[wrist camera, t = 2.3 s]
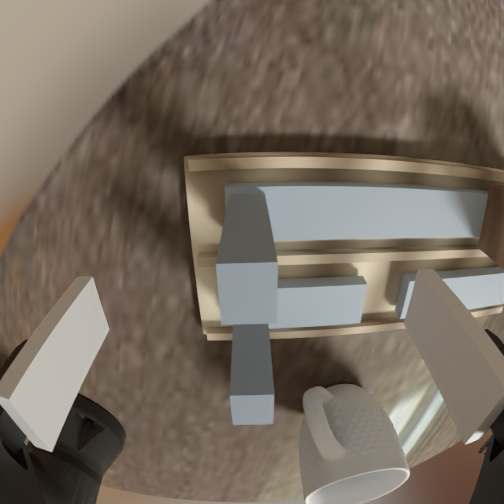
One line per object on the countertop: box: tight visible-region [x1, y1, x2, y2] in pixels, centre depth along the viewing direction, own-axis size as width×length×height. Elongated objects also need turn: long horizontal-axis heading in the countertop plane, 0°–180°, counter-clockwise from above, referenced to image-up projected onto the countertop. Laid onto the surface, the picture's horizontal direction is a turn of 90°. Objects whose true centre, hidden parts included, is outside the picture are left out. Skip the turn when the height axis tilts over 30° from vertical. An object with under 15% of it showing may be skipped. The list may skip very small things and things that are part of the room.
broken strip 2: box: [395, 266, 504, 319], centre depth 26 cm, size 15×4×1 cm, turn 91°
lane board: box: [184, 152, 504, 340], centre depth 25 cm, size 34×16×2 cm, turn 91°
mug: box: [299, 384, 410, 504], centre depth 28 cm, size 15×11×13 cm
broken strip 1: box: [229, 276, 368, 425], centre depth 22 cm, size 11×4×11 cm, turn 91°
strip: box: [216, 181, 489, 325], centre depth 18 cm, size 30×4×11 cm, turn 91°
